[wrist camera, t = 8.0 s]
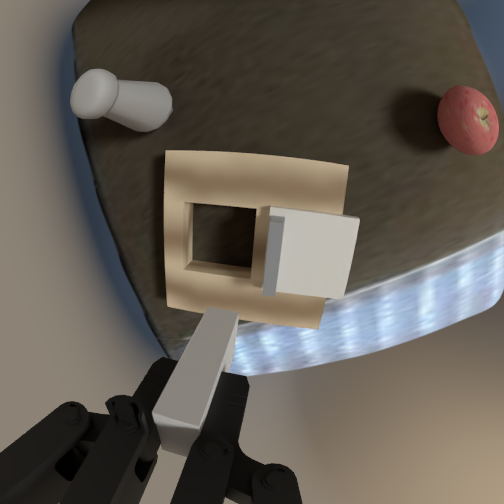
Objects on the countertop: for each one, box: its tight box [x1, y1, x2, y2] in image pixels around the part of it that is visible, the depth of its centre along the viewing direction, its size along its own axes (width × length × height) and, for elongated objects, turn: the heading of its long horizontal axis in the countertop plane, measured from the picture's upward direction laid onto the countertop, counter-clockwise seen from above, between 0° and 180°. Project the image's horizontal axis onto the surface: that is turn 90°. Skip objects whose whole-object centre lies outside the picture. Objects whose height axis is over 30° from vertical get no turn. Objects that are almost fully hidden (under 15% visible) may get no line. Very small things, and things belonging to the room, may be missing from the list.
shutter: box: [262, 205, 360, 299], centre depth 25 cm, size 8×8×4 cm
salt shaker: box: [70, 69, 173, 132], centre depth 21 cm, size 6×6×13 cm
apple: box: [437, 86, 499, 155], centre depth 19 cm, size 7×7×8 cm
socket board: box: [164, 151, 349, 329], centre depth 29 cm, size 18×18×3 cm
